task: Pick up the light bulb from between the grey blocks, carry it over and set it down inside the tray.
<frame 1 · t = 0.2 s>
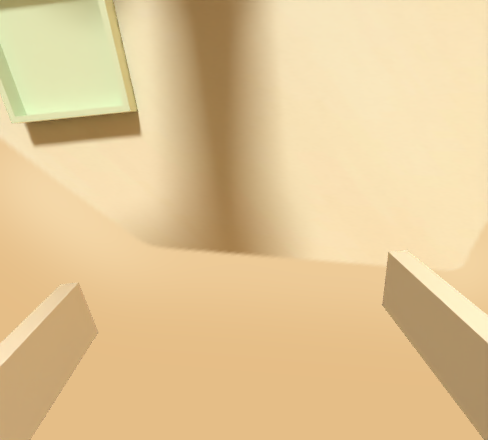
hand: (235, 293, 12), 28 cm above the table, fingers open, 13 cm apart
tray: (63, 52, 32), on the table
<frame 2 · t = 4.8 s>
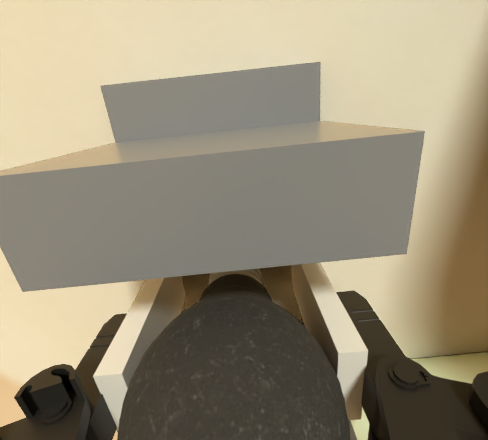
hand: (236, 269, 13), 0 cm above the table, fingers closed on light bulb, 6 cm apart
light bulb: (235, 264, 14), on the table, touching gripper
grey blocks: (235, 266, 14), on the table
tray: (426, 429, 19), on the table
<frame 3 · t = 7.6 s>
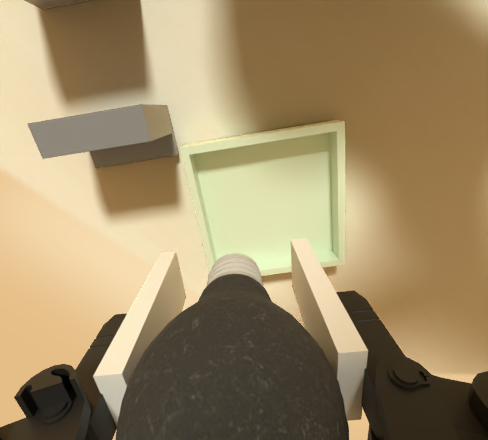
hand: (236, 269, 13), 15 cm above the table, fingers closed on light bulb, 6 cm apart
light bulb: (235, 264, 14), point 15 cm above the table, touching gripper
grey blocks: (108, 60, 23), on the table
tray: (267, 202, 28), on the table
when the fingers open (2 cm above the table, at t = 10.6 s): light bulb stays where it is, resting on tray.
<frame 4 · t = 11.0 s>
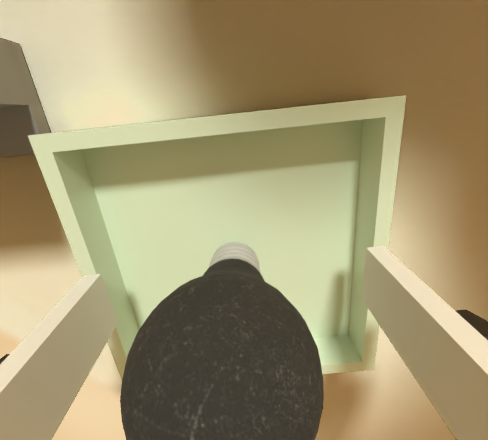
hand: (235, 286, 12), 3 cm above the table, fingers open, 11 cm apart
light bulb: (235, 253, 15), resting on tray
tray: (236, 250, 15), on the table
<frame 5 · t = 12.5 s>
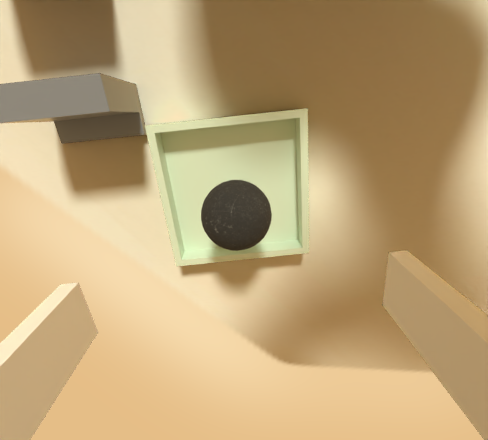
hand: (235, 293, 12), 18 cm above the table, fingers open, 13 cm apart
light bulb: (234, 189, 28), resting on tray
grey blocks: (78, 35, 23), on the table
tray: (235, 188, 28), on the table
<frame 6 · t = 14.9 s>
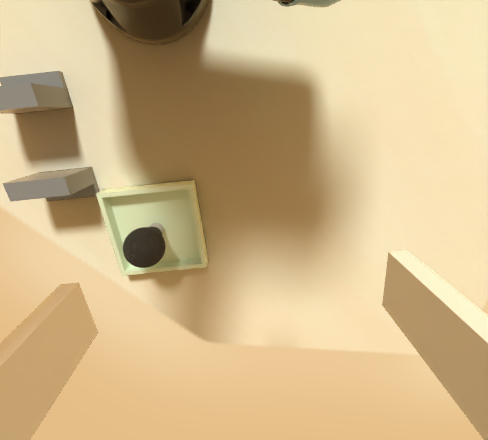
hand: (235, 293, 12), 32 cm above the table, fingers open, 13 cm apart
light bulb: (158, 227, 44), resting on tray
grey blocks: (55, 141, 39), on the table
tray: (159, 226, 44), on the table
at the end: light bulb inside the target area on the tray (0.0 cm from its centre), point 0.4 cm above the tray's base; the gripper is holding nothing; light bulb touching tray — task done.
